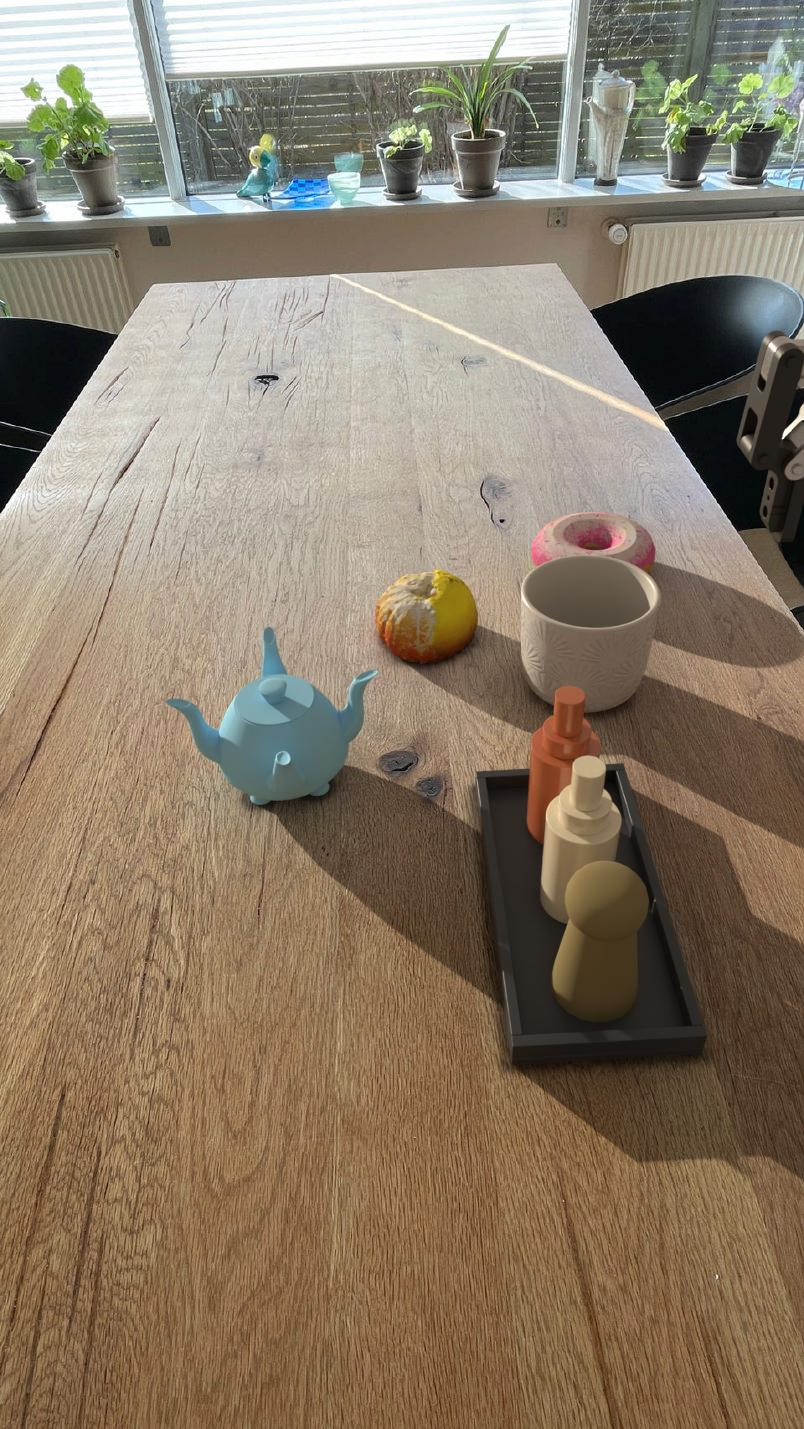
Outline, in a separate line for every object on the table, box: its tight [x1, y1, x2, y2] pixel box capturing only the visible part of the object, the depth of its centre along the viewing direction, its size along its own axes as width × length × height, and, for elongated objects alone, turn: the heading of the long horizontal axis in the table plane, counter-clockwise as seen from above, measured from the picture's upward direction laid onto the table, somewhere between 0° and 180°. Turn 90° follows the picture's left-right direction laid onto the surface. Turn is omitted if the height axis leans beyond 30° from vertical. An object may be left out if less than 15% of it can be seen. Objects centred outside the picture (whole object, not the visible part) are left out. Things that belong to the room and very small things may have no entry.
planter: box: [520, 555, 662, 714], centre depth 89 cm, size 12×12×11 cm
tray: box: [474, 762, 708, 1066], centre depth 72 cm, size 26×13×2 cm, turn 2°
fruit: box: [374, 568, 479, 665], centre depth 98 cm, size 11×10×8 cm
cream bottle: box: [540, 756, 622, 924], centre depth 67 cm, size 5×5×14 cm
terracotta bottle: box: [526, 686, 602, 845], centre depth 73 cm, size 5×5×14 cm
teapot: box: [165, 626, 378, 806], centre depth 81 cm, size 13×13×10 cm
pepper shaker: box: [550, 861, 649, 1023], centre depth 63 cm, size 6×6×11 cm
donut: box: [531, 511, 656, 574], centre depth 106 cm, size 14×13×5 cm
